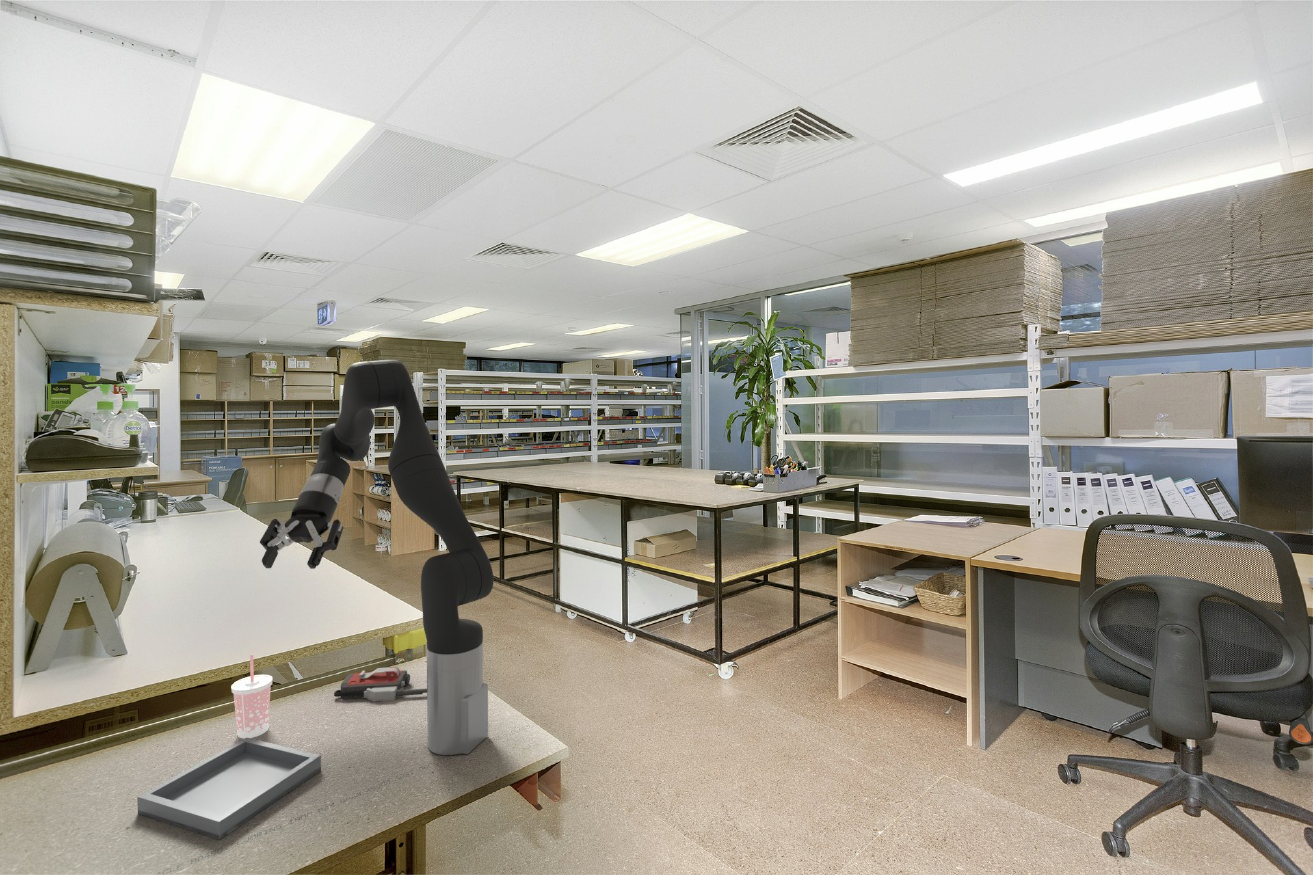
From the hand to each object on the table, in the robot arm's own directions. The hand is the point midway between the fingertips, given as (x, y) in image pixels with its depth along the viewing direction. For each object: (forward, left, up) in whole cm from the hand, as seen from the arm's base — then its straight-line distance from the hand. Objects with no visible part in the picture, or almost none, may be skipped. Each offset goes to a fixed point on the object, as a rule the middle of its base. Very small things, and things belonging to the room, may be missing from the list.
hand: (288, 566), depth 115 cm
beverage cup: (-4, +11, -27) cm, 29 cm away
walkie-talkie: (-16, -9, -27) cm, 33 cm away
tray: (-17, +24, -27) cm, 40 cm away
